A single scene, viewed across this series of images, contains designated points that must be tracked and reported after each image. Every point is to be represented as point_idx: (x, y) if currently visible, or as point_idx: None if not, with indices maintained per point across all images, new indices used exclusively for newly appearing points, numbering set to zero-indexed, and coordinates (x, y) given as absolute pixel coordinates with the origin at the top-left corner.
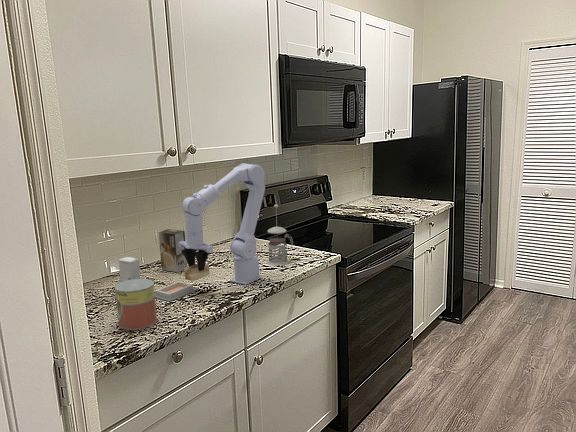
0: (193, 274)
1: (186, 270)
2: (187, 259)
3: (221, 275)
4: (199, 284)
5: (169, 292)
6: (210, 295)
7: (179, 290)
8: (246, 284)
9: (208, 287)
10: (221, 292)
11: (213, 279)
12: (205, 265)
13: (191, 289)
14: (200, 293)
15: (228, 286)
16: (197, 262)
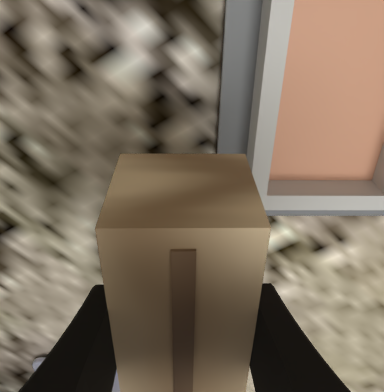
0: (108, 199)
1: (226, 212)
2: (310, 389)
3: (251, 384)
4: (272, 266)
5: (368, 42)
6: (62, 174)
7: (263, 65)
8: (34, 360)
9: None
10: (50, 240)
11: None
12: (119, 386)
13: None
14: None
15: None
16: (75, 377)
